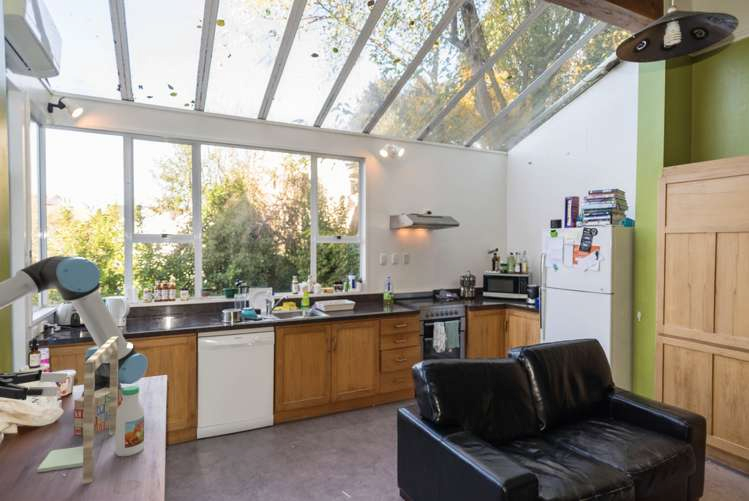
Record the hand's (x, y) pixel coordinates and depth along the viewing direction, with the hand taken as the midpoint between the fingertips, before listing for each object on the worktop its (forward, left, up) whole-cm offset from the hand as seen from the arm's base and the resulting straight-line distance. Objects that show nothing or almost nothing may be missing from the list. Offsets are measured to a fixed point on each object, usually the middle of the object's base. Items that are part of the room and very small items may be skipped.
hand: (62, 383), depth 124 cm
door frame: (-1, +11, -22) cm, 25 cm away
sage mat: (+1, +2, -22) cm, 23 cm away
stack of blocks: (-24, +1, -23) cm, 33 cm away
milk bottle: (-3, +18, -23) cm, 29 cm away
